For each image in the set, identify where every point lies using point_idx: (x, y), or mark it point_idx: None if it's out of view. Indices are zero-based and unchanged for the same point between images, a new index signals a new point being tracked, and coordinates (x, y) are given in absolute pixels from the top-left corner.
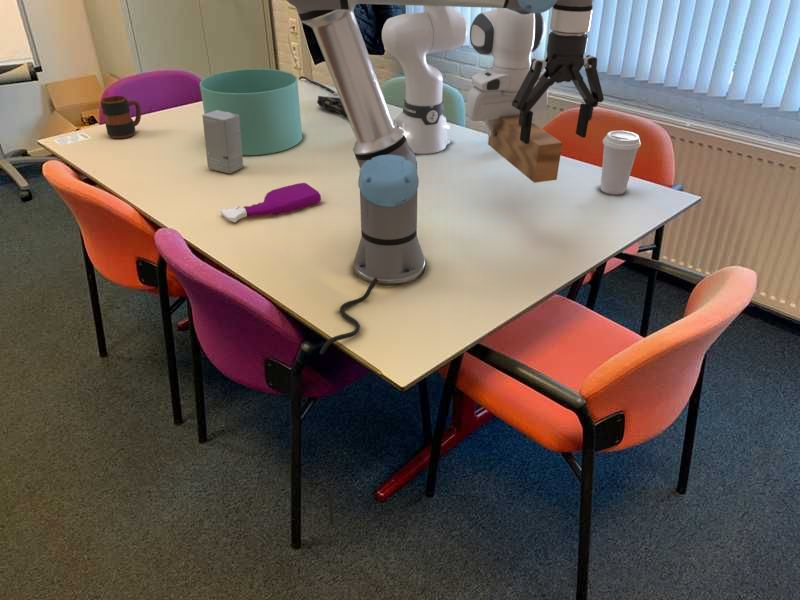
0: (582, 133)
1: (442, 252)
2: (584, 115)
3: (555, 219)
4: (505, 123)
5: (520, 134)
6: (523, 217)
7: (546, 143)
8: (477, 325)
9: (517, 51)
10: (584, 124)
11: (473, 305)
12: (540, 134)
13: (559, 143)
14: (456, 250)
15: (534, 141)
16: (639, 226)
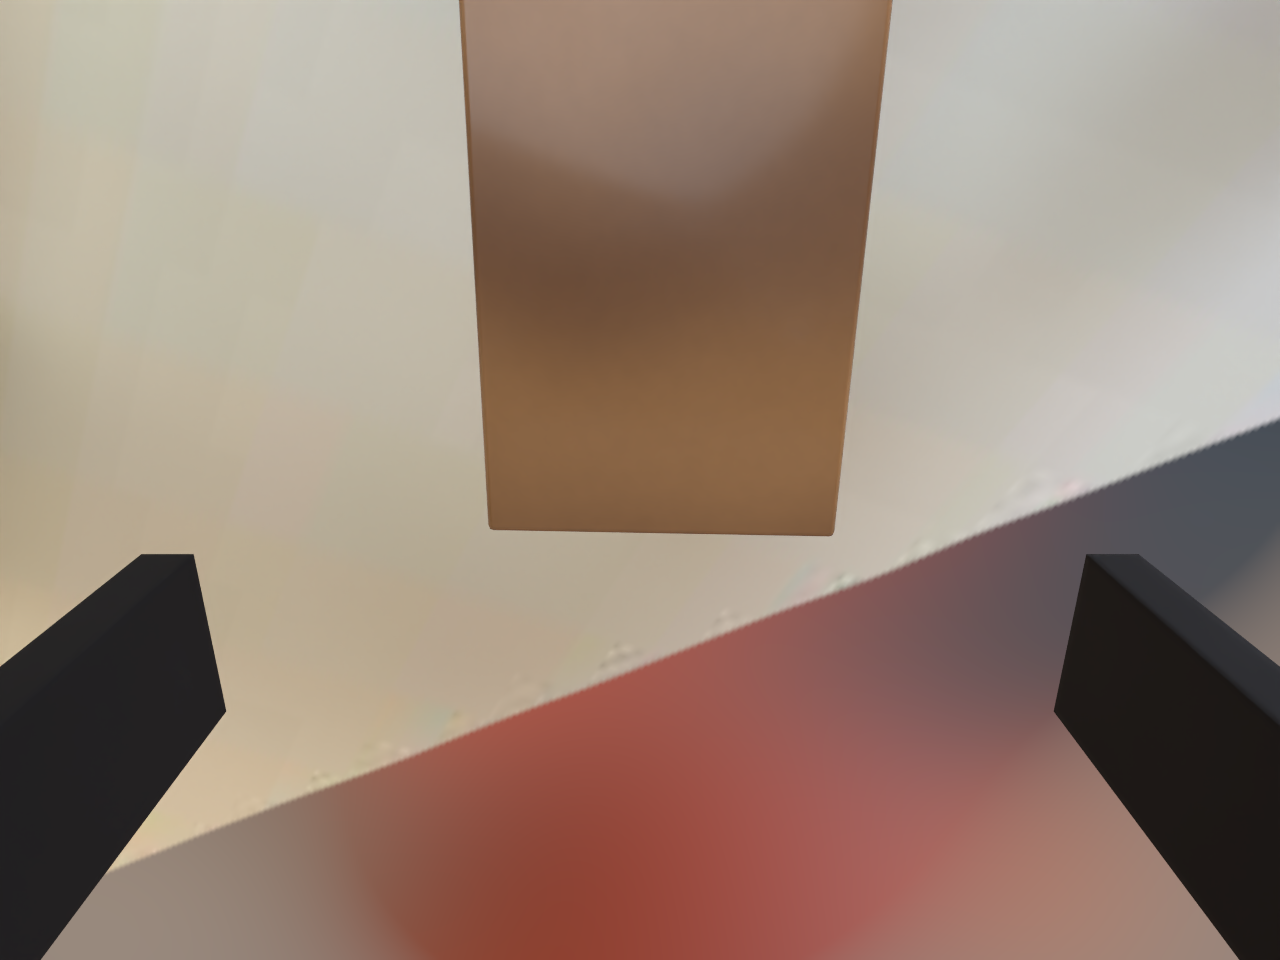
0: (1084, 730)
1: (79, 286)
2: (1268, 935)
3: (889, 116)
4: None
5: (95, 594)
6: None
7: (616, 498)
8: None
9: None
10: (1161, 841)
11: None
12: (724, 138)
13: (789, 534)
14: (160, 290)
15: (490, 387)
16: (1275, 375)
